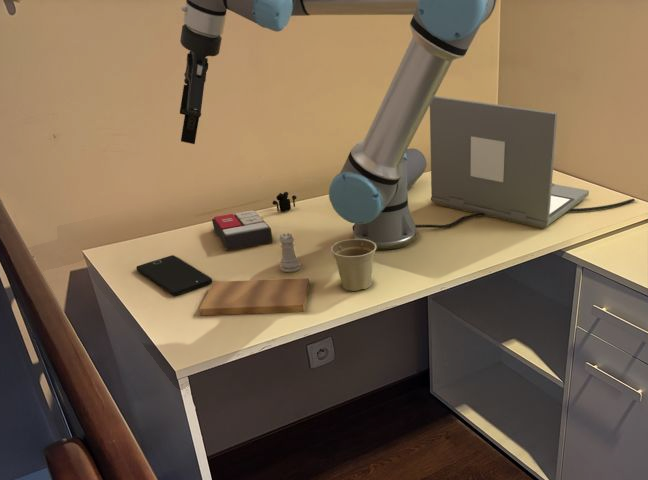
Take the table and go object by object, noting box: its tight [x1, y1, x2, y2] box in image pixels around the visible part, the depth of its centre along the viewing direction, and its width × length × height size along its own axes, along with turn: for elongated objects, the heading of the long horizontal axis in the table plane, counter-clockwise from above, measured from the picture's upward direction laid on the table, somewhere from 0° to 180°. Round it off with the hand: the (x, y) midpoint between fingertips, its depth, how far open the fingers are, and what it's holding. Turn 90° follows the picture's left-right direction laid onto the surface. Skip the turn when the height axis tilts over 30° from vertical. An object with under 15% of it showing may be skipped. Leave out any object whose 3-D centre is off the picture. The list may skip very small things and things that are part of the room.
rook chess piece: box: [278, 232, 301, 274], centre depth 150 cm, size 4×4×8 cm
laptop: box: [429, 95, 590, 229], centre depth 180 cm, size 35×26×28 cm
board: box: [199, 277, 311, 316], centre depth 139 cm, size 20×12×2 cm, turn 94°
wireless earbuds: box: [272, 191, 297, 213], centre depth 181 cm, size 7×2×5 cm, turn 131°
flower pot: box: [330, 238, 377, 292], centre depth 143 cm, size 9×9×9 cm
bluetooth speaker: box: [406, 148, 427, 191], centre depth 192 cm, size 23×9×10 cm, turn 162°
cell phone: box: [135, 254, 213, 296], centre depth 148 cm, size 9×18×1 cm, turn 46°
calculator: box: [211, 209, 274, 251], centre depth 167 cm, size 11×4×15 cm
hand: (186, 128), depth 148 cm, fingers open, 13 cm apart
